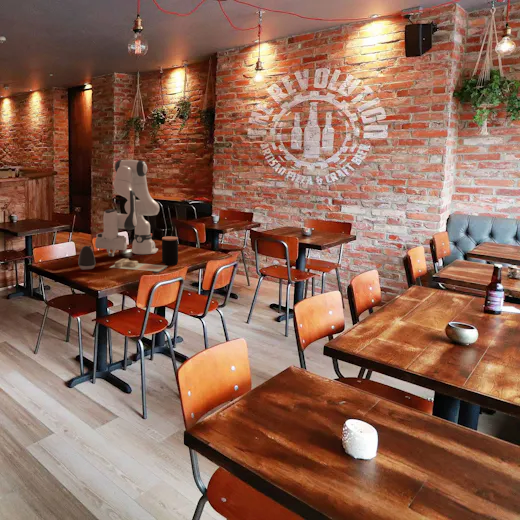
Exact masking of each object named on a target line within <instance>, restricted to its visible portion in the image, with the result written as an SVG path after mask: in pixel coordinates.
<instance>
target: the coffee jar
mask: <svg viewBox="0 0 520 520" xmlns="http://www.w3.org/2000/svg"><path fill="white" fill-rule="evenodd" d="M161 240H162V241H161V263H162V264H164V265H166V266H176V265H178V263H179V241H178V240H179V237H178V236H167V235H166V236H163V237H162V238H161Z"/></svg>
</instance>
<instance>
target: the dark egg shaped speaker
mask: <svg viewBox="0 0 520 520" xmlns="http://www.w3.org/2000/svg"><path fill="white" fill-rule="evenodd" d="M93 251H94V250H92V247H91V245H85V246H83V247H82V248H81V249H80V251H79V256H78V263H77V265H78V266H79V269H80V270H82V271H83V270H92V269H94V268H95V266H96V263H97V262H96V257H95V254H94V252H93Z"/></svg>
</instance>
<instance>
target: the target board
mask: <svg viewBox="0 0 520 520" xmlns="http://www.w3.org/2000/svg"><path fill="white" fill-rule="evenodd" d="M168 266H169V265H165V264H151V263H139V262H138V266H136V267H129V266H123V267H115V264H112V265H111V266H109V268H111V269H124V270H136V271H138V270H139V271H150V272H151V273H152V274H160V273H161V272H163V271H164V269H165V270H166V269H168V268H169V267H168ZM167 267H168V268H167ZM159 272H160V273H159Z"/></svg>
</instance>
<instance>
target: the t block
mask: <svg viewBox="0 0 520 520" xmlns="http://www.w3.org/2000/svg"><path fill="white" fill-rule="evenodd" d="M138 263H139V261H138V260H130V259H129V258H121V259H119V260H117V261H114V265H115V267H123V266H129V267H136V266H138Z"/></svg>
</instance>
